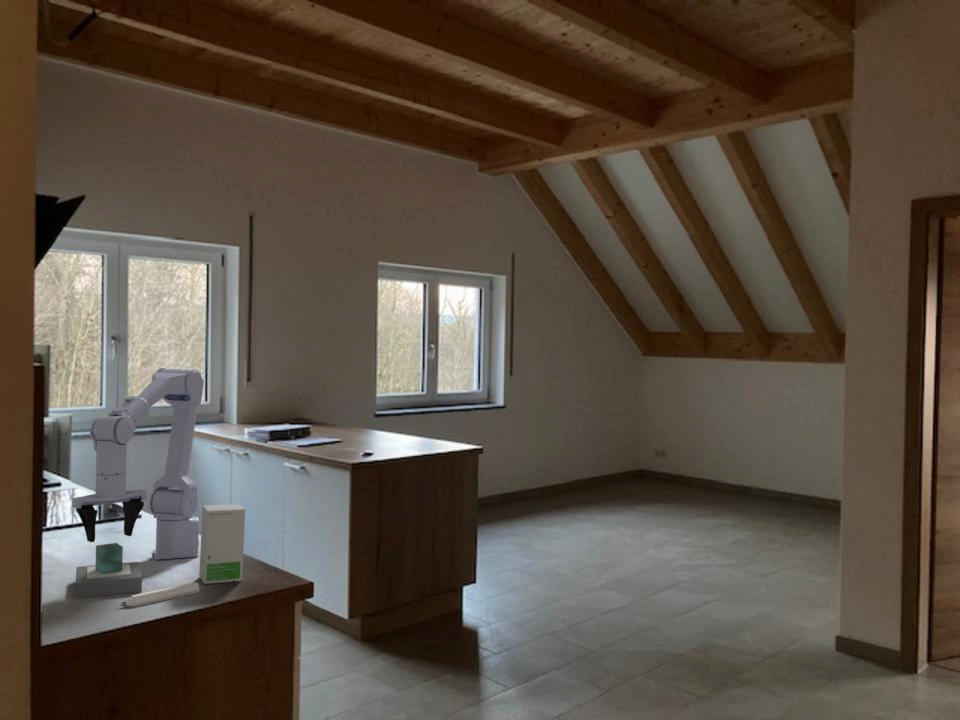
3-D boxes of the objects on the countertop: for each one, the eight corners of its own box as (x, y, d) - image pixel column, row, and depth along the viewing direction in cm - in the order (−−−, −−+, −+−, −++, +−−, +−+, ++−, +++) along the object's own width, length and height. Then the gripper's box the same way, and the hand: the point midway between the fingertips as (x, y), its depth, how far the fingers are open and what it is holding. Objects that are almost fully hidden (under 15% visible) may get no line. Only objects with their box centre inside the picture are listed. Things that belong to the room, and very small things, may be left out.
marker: (117, 614, 151) (195, 595, 163) (121, 610, 150) (200, 592, 162) (114, 600, 152) (192, 582, 164) (118, 597, 151) (197, 579, 163)
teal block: (115, 566, 167) (116, 542, 167) (122, 571, 164) (122, 546, 164) (95, 569, 164) (96, 545, 164) (101, 574, 161) (102, 549, 161)
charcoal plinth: (138, 575, 172) (138, 560, 172) (141, 591, 161) (142, 575, 161) (76, 581, 167) (76, 565, 167) (75, 598, 156) (75, 581, 156)
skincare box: (203, 585, 167) (205, 511, 167) (198, 576, 173) (200, 505, 173) (244, 581, 171) (246, 508, 171) (238, 572, 177) (240, 502, 177)
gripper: (136, 467, 174) (135, 529, 175) (66, 474, 164) (65, 540, 164) (151, 471, 170) (150, 535, 170) (81, 479, 159) (79, 546, 159)
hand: (109, 538), depth 167 cm, fingers open, 7 cm apart
